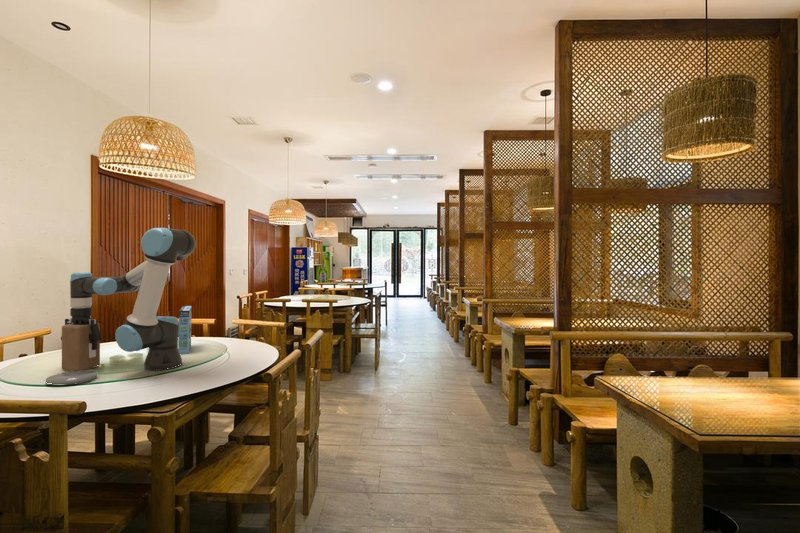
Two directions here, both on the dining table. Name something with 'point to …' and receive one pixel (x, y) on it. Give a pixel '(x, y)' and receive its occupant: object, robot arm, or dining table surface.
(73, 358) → the wooden block
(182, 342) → the gum box
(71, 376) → the charcoal plate
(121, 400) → the dining table surface
